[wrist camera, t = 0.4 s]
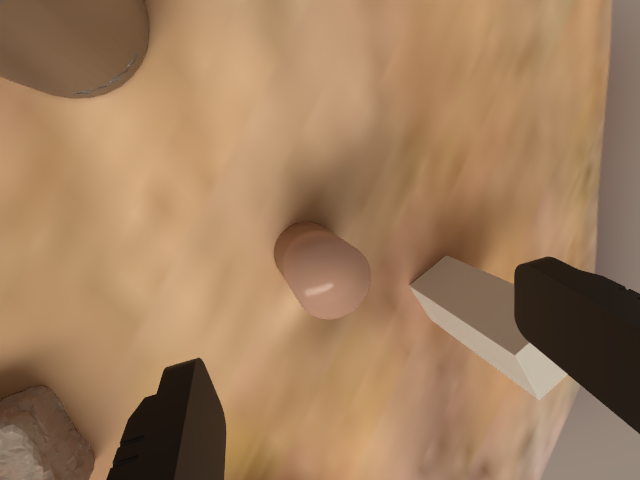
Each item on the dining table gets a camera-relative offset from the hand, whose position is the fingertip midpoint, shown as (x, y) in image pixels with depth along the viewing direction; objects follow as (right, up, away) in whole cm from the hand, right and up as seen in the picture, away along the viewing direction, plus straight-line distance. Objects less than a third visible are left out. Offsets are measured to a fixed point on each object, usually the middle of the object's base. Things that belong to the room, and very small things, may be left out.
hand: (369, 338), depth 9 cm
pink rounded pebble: (-2, +1, +20) cm, 20 cm away
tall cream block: (+10, -2, +25) cm, 27 cm away
